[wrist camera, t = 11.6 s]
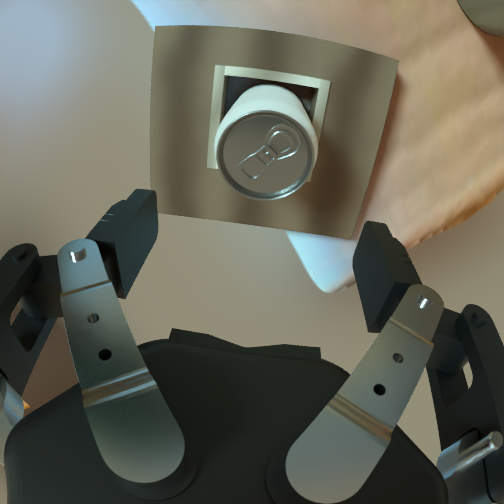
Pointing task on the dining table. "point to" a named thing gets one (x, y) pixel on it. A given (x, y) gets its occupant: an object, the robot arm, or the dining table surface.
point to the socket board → (213, 112)
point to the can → (266, 144)
